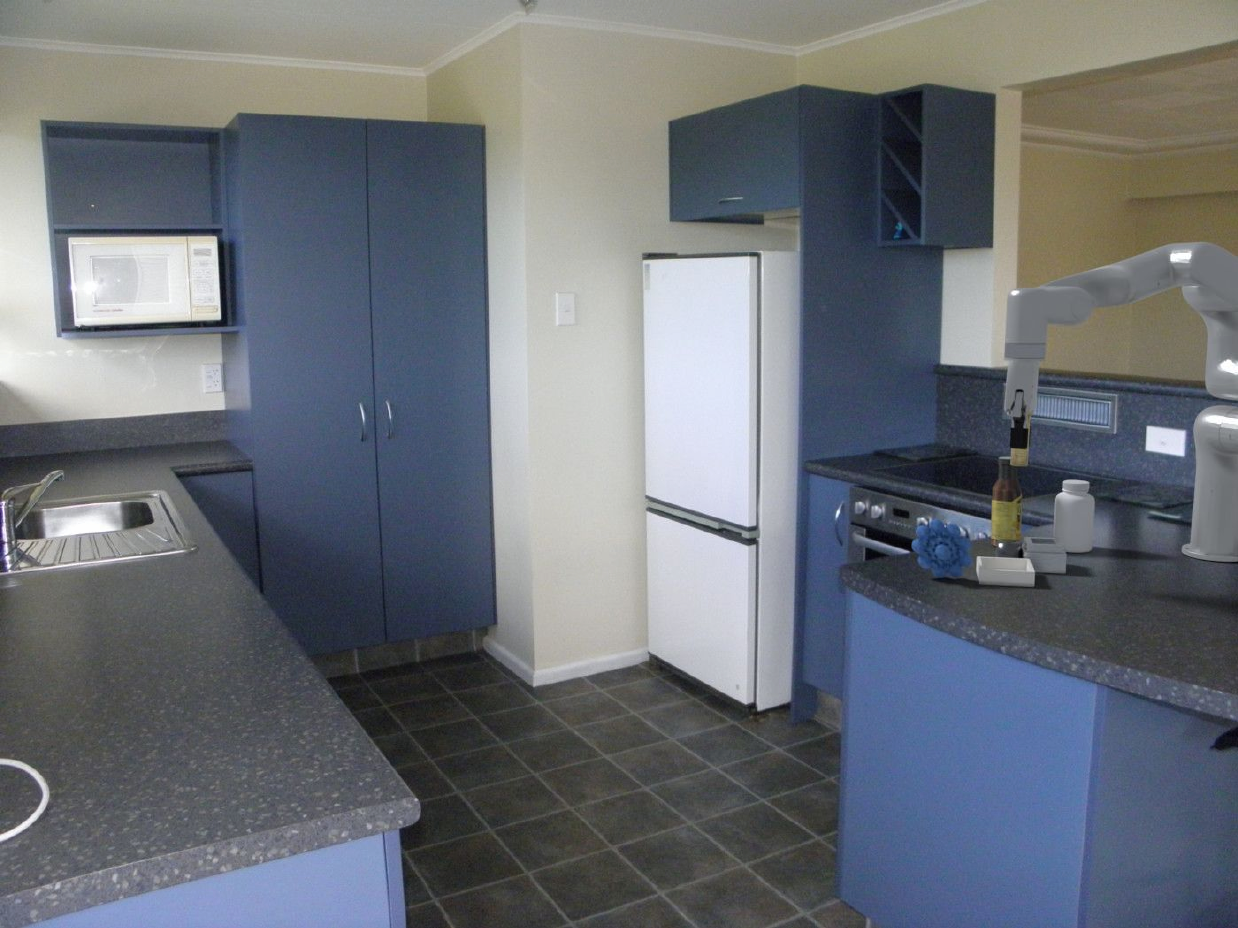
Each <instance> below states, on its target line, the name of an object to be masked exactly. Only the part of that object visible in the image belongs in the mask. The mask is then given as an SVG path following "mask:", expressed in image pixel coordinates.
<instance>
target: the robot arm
mask: <svg viewBox="0 0 1238 928" xmlns="http://www.w3.org/2000/svg"><path fill="white" fill-rule="evenodd" d="M1178 287H1181V292H1182V296H1183V298H1184V300H1185V302H1186V303H1187V305H1189V306H1190V308H1192V309H1194V310H1195V311H1196V312H1197V313H1198V314H1199V316H1200V317H1201V318H1202V319H1203V321H1204V325H1205V326H1206V330H1207V347H1206V351H1207V352H1206V360H1205V361H1206V362H1205V377H1204V381H1205V383H1204V384H1205V388H1206V391H1207V392H1208V393H1209V394H1210V395H1211V396H1213V397H1215V398H1218V399H1223V400H1231V401H1238V256H1237V255H1235V254H1233V253H1232V252H1230V251H1229V250H1228V249H1225V248H1224V247H1221V246H1219V245H1217V244H1215V243H1212V242H1208V241H1193V242H1192V241H1191V242H1189V241H1188V242H1175V243H1168V244H1166V245H1162V246H1159V247H1156V248H1154V249H1151V250H1147V251H1146V252H1142V253H1140V254H1137V255H1134V256H1132V257H1129V258H1126V259H1123V260H1121V261H1118V262H1117V261H1116V262H1114V263H1112V264H1106V265H1103V266H1100V267H1096V268H1093V269H1089V270H1085V271H1082V272H1078V273H1075V274H1071V275H1067V276H1064V277H1061V278H1059V279H1055V280H1052V281H1049V282H1047V283H1044V284H1041V285H1039V286H1037V287H1016V288H1012V289H1011V290H1010V291H1009V292H1008V294H1007V299H1006V318H1005V321H1006V322H1005V337H1004V354H1003V355H1004V357H1003V358H1004V359H1003V360H1004V361H1008V366H1007V374H1006V382H1005V383H1006V384H1005V391H1004V392H1005V394H1004V404H1003V405H1004V406H1003V410H1004V411H1005V412H1007V413H1008V412H1011V408H1012V407H1013V410H1012V414H1011V425H1010V432H1009V433H1010V434H1009V435H1010V436H1009V448H1010V449H1011V448H1015V449H1026V448H1027V447H1028V429H1029V428H1027V420H1028V412H1030V411H1032V410H1033V411H1034V409H1035V408H1036V405H1037V400H1038V387H1039V376H1040V375H1039V372H1040V370H1039V369H1040V362H1044V361H1045V362H1046V361H1047V342H1048V331H1049V330H1048V327H1049V326H1058V327H1074V326H1078V325H1081V324H1083V323H1084V322H1086V321H1087V320H1089V318H1090V317H1091V316H1092V315H1093V312H1094V310H1095V309H1099V308H1111V307H1120V306H1126V305H1130V304H1134V303H1136V302H1139V301H1141V300H1144V299H1147V298H1149V297H1152V296H1155V295H1157V294H1160V293H1163V292H1167V291H1169V290H1171V289H1175V288H1178ZM1022 409H1025V412H1022ZM1022 415H1024V416H1022ZM1031 420H1032V415H1031V416H1030V433H1029V446H1030V445H1031V437H1032V436H1031V433H1032V425H1031V423H1032V422H1031ZM1192 433H1193V434H1192V435H1193V440H1194V448H1195V459H1196V460H1195V479H1194V491H1193V492H1194V493H1193V507H1192V515H1191V516H1192V519H1191V531H1190V532H1191V533H1190V543H1185V544H1183V545H1182V547H1181V553H1182V554H1184V555H1186V556H1188V557H1190V558H1194V559H1199V560H1205V561H1211V562H1220V563H1221V562H1222V563H1238V406H1234V405H1233V406H1232V405H1225V404H1224V405H1223V404H1219V405H1217V404H1216V405H1211V406H1208V407H1207V408H1204V409H1203V410H1202V411H1200V413H1198V414H1197V416H1196V417H1195V420H1194V422H1193V432H1192Z"/></svg>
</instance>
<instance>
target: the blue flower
mask: <svg viewBox="0 0 1238 928" xmlns="http://www.w3.org/2000/svg"><path fill="white" fill-rule="evenodd" d="M961 532H962V531H961V528H960V527H959V525H957V524H955V523H948V524H946V525H945V523H944V522H943V521H942V520H940V519H937V518H934V519H932V520H930V522H929V525H928V526H927V525H919V526H917V527H916V530H915V533H916V536H917V537H918V538H916V539H913V540H912V542H911V549H912V550H913V551H914V552H915V553H916V554H918V557H917V562H918V565H919V566H920V567H921V568H922V569H925V570H929V569H931V572H932V574H933V575H934V576H935V577H936V578H939V579H941V578H942V579H944V578H947V576H948V575H950V577H953V578H955V579H958V578H959V577H961V576H962V575H963V573H964V570H963V568H969V567H970V566H972V565H973V561H974V560H973V558H972V556H971V554H970V553H968V552H969V551H971V549H972V542H971V540H970V539H969V538H968V537H965V536H963V535H962V536H961V534H962V533H961Z"/></svg>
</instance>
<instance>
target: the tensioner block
mask: <svg viewBox="0 0 1238 928" xmlns="http://www.w3.org/2000/svg"><path fill="white" fill-rule="evenodd" d="M995 557H1002V558H1024V559H1030V561H1031V564H1032V566H1033V569H1034V571H1035V573H1044V574H1045V573H1046V574H1060V575H1062V574H1064V575H1065V574H1067V573H1066V571H1067V552H1065V550H1064V549H1063V545H1062V543H1061V541H1060V539H1059V538H1053V537H1042V536H1041V537H1040V536H1039V537H1037V536H1023V542H1022V541H1021V540H1020V541H1017V540H1009V539H1003V540H997V541H996V547H995Z"/></svg>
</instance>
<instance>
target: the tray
mask: <svg viewBox="0 0 1238 928" xmlns="http://www.w3.org/2000/svg"><path fill="white" fill-rule="evenodd" d="M975 571H976V574H977V581H978V584H979V585H985V586H987V585H989V586H1007V587H1008V586H1009V587H1024V588H1025V587H1027V588H1030V587H1031V588H1034V587H1035V579H1036V578H1035V577H1036V572H1035V571H1034V569H1033V566H1032V564H1031V561H1030V559H1024V558H1002V557H996V556H980V555H979V556H976V568H975Z"/></svg>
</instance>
